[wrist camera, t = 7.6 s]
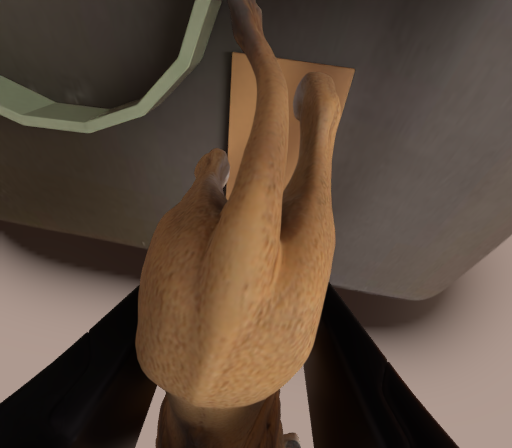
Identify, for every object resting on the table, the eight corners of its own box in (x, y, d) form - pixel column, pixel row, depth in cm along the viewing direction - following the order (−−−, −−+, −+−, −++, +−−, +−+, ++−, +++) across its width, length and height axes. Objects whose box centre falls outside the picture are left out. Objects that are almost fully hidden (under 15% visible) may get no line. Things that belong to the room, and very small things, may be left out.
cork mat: (353, 68, 14) (355, 69, 14) (302, 236, 22) (303, 239, 22) (232, 51, 14) (232, 52, 14) (224, 228, 22) (224, 231, 22)
